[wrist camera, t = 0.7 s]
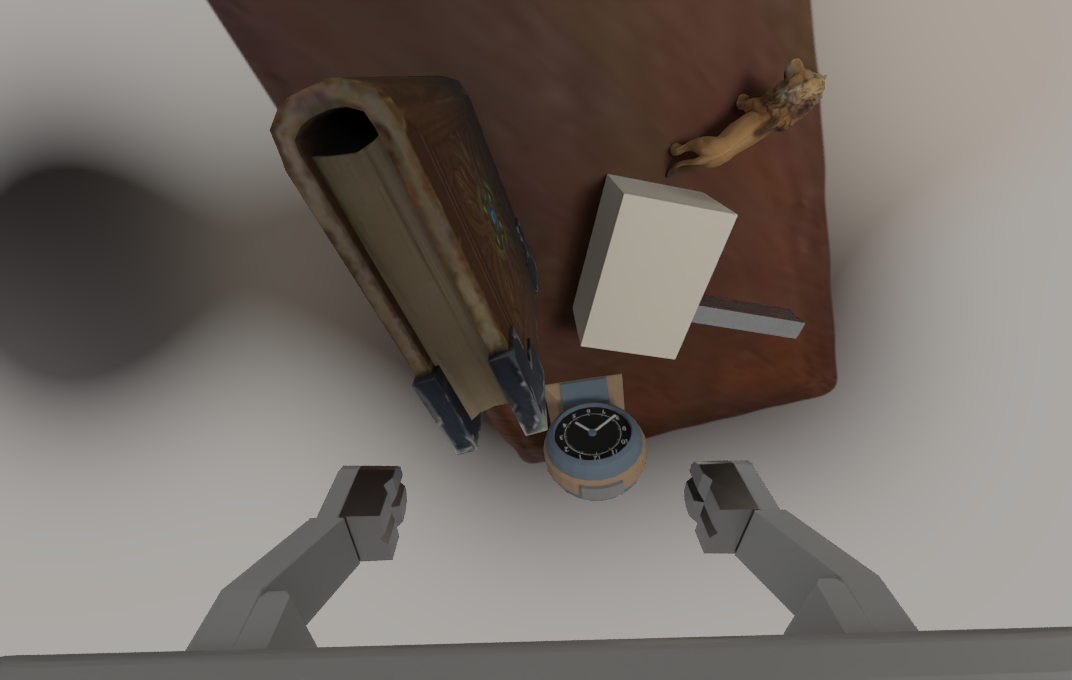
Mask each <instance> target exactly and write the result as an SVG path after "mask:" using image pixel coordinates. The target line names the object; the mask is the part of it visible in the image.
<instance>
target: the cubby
mask: <svg viewBox="0 0 1072 680" xmlns="http://www.w3.org/2000/svg"><path fill="white" fill-rule="evenodd" d="M737 216H738V215H737V214H736V213H734V212H733V211H731V210H729V209H728V208H726V207H725V206H723V205H722V204H720V203H719V202H717V201H716V200H714V199H712V198H711V197H709V196H708V195H706V194H705V193H703V192H698V191H693V190H688V189H683V188H678V187H673V186H667V185H662V184H657V183H652V182H647V181H641V180H636V179H631V178H626V177H621V176H616V175H610V174H607V177H606V180H605V184H604V188H603V192H602V196H601V200H600V204H599V208H598V211H597V215H596V219H595V223H594V227H593V231H592V235H591V238H590V242H589V246H588V250H587V254H586V258H585V262H584V266H583V269H582V273H581V277H580V281H579V285H578V289H577V293H576V296H575V300H574V304H573V313H574V318H575V322H576V327H577V331H578V336H579V341H580V345H581V346H584V347H591V348H598V349H605V350H612V351H619V352H626V353H633V354H640V355H647V356H654V357H661V358H669V359H676V356H677V354H678V352H679V349H680V347H681V345H682V342H683V340H684V338H685V336H686V333H687V331H688V329H689V326H690V324H691V322H692V319H693V317H694V315H695V313H696V310H697V308H698V306H699V303H700V301H701V299H702V296H703V294H704V292H705V290H706V287H707V285H708V283H709V280H710V278H711V276H712V273H713V271H714V269H715V267H716V264H717V262H718V260H719V257H720V255H721V253H722V250H723V248H724V246H725V244H726V241H727V239H728V237H729V234H730V232H731V230H732V227H733V225H734V223H735V221H736V218H737Z"/></svg>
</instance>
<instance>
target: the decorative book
mask: <svg viewBox="0 0 1072 680" xmlns="http://www.w3.org/2000/svg"><path fill="white" fill-rule="evenodd" d="M270 132H271V134H272V137H273V139H274V141H275V144H276V146H277V149H278V151H279V153H280V156H281V159H282V161H283V164H284V168H285V170H286V172H287V174H288V175H289V177H290V178H291V180H292V181H293V183H294V184H295V186H296V187H297V189H298V191H299V192H300V194H301V196H302V197H303V199H304V200H305V202H306V203H307V205H308V206H309V208H310V210H311V211H312V213H313V214H314V216H315V218H316V219H317V221H318V222H319V224H320V225H321V227H322V229H323V230H324V232H325V233H326V235H327V236H328V238H329V240H330V241H331V243H332V244H333V246H334V247H335V249H336V250H337V252H338V254H339V255H340V257H341V258H342V260H343V261H344V263H345V265H346V266H347V268H348V269H349V271H350V273H351V274H352V276H353V277H354V279H355V280H356V282H357V284H358V285H359V287H360V288H361V290H362V291H363V293H364V294H365V296H366V298H367V299H368V301H369V302H370V304H371V306H372V307H373V309H374V310H375V312H376V313H377V315H378V317H379V318H380V320H381V321H382V323H383V324H384V326H385V328H386V329H387V331H388V332H389V334H390V335H391V337H392V339H393V340H394V342H395V343H396V345H397V346H398V348H399V349H400V351H401V353H402V354H403V356H404V357H405V359H406V361H407V362H408V364H409V365H410V367H411V369H412V370H413V372H414V373H415V375H416V376H415V379H414V382H413V384H412V387H413V388H414V389H415V391H416V393H417V394H418V396H419V397H420V399H421V400H422V402H423V403H424V405H425V406H426V408H427V409H428V411H429V413H430V414H431V415H432V417H433V419H434V420H435V422H436V423H437V425H438V426H439V428H440V429H441V431H442V432H443V434H444V435H445V437H446V438H447V440H448V441H449V443H450V444H451V446H452V447H453V449H454V450H455V452H456V453H457V455H459V454H463V453H467V452H470V451H474V450H478V447H479V438H480V431H481V422H482V414H483V411H485V410H487V409H489V408H491V407H493V406H497V405H502V404H508V403H509V404H510V406H511V408H512V410H513V412H514V414H515V416H516V418H517V420H518V422H519V424H520V426H521V428H522V429H523V431H524V433H525V435H526V436H528V435H532V434H535V433H539V432H542V431H546V430H548V426H547V411H546V396H545V381H544V370H543V367H542V365H541V363H540V360H539V345H538V327H537V309H536V291H538V281H537V267H536V264H535V262H534V259H533V256H532V254H531V251H530V248H529V246H528V243H527V241H526V238H525V235H524V233H523V230H522V227H521V225H520V222H519V220H518V218H515V215H514V213H513V210H512V208H511V205H510V202H509V200H508V197H507V195H506V192H505V189H504V187H503V184H502V182H501V179H500V176H499V174H498V171H497V169H496V166H495V163H494V161H493V158H492V156H491V153H490V150H489V148H488V145H487V143H486V140H485V137H484V135H483V132H482V130H481V127H480V124H479V122H478V119H477V117H476V114H475V111H474V109H473V106H472V104H471V101H470V99H469V97H468V95H467V94H466V92H465V91H464V89H463V87H462V86H461V84H460V82H459V81H457V80H454V79H451V78H448V77H443V76H408V77H353V78H329V79H327V80H324V81H322V82H319V83H317V84H314V85H312V86H310V87H308V88H306V89H303V90H301V91H299V92H297V93H295V94H293V95H291V96H289V97H288V98H286V99H284V100H283V102H282V103H281V105H280V107H279V108H278V110H277V112H276V115H275V118H274V120H273V123H272V126H271V128H270Z"/></svg>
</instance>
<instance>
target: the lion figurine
mask: <svg viewBox="0 0 1072 680" xmlns="http://www.w3.org/2000/svg"><path fill="white" fill-rule="evenodd" d="M826 77H827V75H821V74H817V73H814V72H811V71H810V70H806V69H805V68H804V67H803V63H802V61H801V60H800V59H799V58H797V59H794V60H792V61H791V62H790V63H789V64H788V65H787V66H786V68H785V70H784V80H782V81H780V82H779V83H778V84H777V85H776V86H775V88H774V89H770V90H768V91H767V92H766V93H764V94H763V95H762V96H761V97H758V98H751V99H748V98H749V96H748V95H746V94H741V95H739V97H738V99H737V102H736V105H737V107H738V108H737V109H738V110H745V113H746V114H744V115H742V116H741V117H740V118H738V119H737V120H736V121H734V122H733V123H731V124H730V125H729V126H728V127H727V128H726V129H724V131H723V132H722V133H721V134H720V135H719V136H717V137H713V136H705V137H699V138H696V139H693V140H691V141H689V142H688V143H686V144H684V145H681V144H679V143H674V144H673V145H672V146H671V148H670V152H671V154H672V155H673V156H675V155H681V154H683V153H684V152H687V151H693V152H695V153H696V154H698V155H699V156H698V157H697V158H695V159H688V160H683V161H680V162H678V163H677V164H676V165H675V166H674V167H673V168H672V169H670V170H669V172H668V174H667V177H668V178H671V177H672V175H673V174H675V173H676V172H677V169H678V168H679V167H680V166H684V165H701V164H702V165H703V166H705V167H707V168H714V167H717V166H720V165H722V164H723V163H725V162H727V161H729V160H730V159H731V158H732V157H733V156H735V155H736V154H737V153H739V152H741V151H743V150H745V149H746V148H748V147H750V146H752V145H753V144H755V143H756V142H758V141H759V140H761V139H762V138H764V137H765V136H767V135H768V134H771V133H774V132H776V131H783V130H786V129H788V127H792V126H793V124H794V123H795V122H797V121H798V120H800V119H801V118H803V117H804V116H805V115H807V114H808V113H809V111H811V110H812V109H813V107H814V105H816V104H817V103H818V102H819V101H820V99H821V98H822V93H823V91H824V88H825V81H824V80H825V78H826Z"/></svg>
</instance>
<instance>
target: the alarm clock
mask: <svg viewBox="0 0 1072 680" xmlns="http://www.w3.org/2000/svg"><path fill="white" fill-rule="evenodd" d="M545 396H546V402H547V407H548V412H549V417H550V422H551V425H550V427H549V430H548V432H547V436H546V438H545V440H544V449H543V451H544V455H545V460H546V464H547V468H548V472H549V473H550V475H551V476H552V478H553V479H554V481H556V482H557V483H558V485H560V486H561V487H562V488H563V489H564V490H565V491H566V492H568V493H570V494H572V495H574V496H576V497H578V498H582V499H586V500H591V501H596V500H597V501H598V500H599V501H603V500H607V499H611V498H615V497H617V496H619V495H621V494H623V493H624V492H626V491H627V490H628V489H630V488H631V487H632V486H633V485H634V484H635V483H636V481H637V480H638V478H639V477H640V475H641V473H642V472H643V470H644V468H645V464H646V458H647V453H646V442H645V436H644V434H643V432H642V430H641V428H640V427H639V426H638V424H637V422H636V421H635V420H634V419H633V418H632V417H631V416H630V415H629V414H628V413H627V412H626V411H625V410H624V396H623V381H622V373H621V374H614V375H608V376H601V377H594V378H587V379H580V380H574V381H567V382H560V383H553V384H546V385H545Z"/></svg>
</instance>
